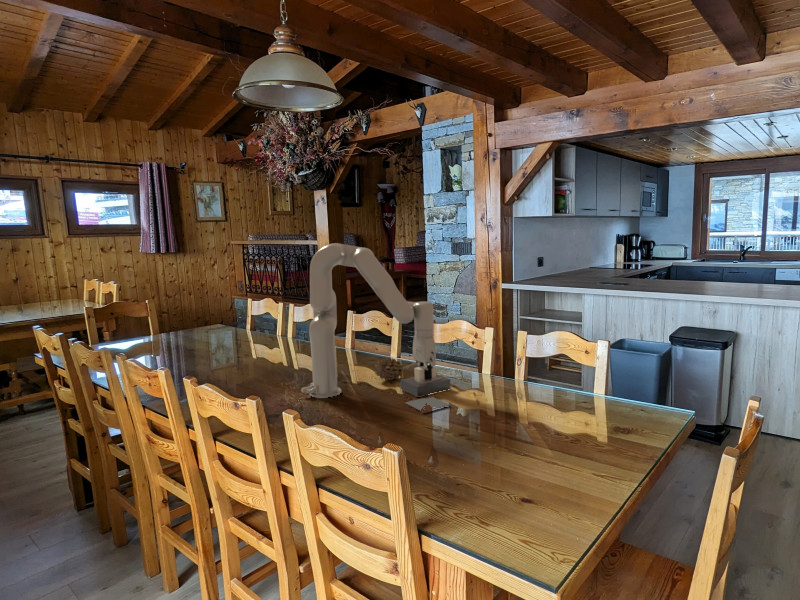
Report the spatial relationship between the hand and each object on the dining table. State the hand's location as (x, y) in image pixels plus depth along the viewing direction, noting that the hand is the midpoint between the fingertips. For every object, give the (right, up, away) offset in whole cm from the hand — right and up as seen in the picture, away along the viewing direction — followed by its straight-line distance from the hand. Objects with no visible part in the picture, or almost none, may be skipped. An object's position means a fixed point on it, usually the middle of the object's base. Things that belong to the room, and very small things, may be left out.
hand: (425, 377), depth 200 cm
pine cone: (-11, -3, +18) cm, 22 cm away
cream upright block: (0, -5, +1) cm, 5 cm away
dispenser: (0, -5, +1) cm, 5 cm away
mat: (0, -8, -17) cm, 19 cm away
